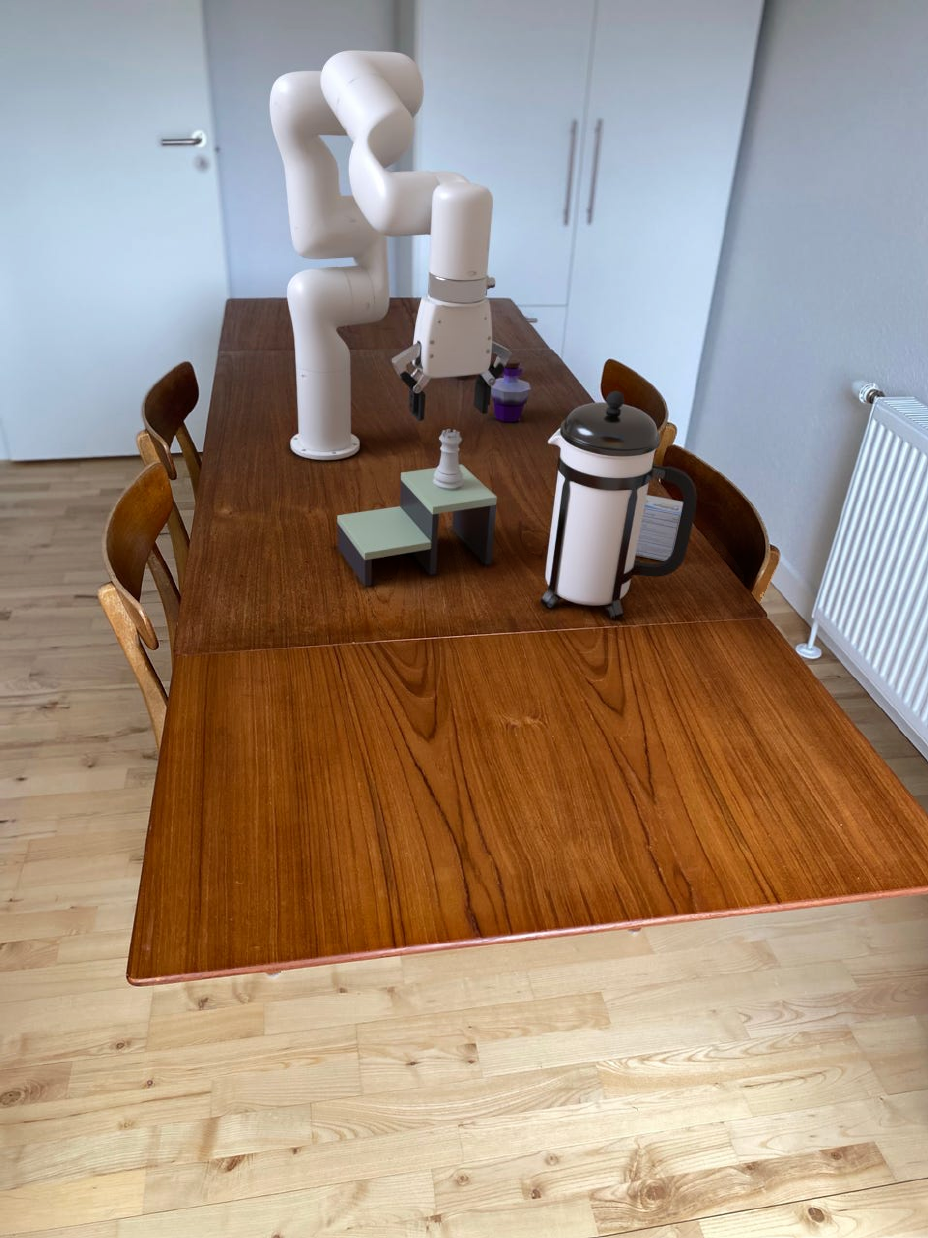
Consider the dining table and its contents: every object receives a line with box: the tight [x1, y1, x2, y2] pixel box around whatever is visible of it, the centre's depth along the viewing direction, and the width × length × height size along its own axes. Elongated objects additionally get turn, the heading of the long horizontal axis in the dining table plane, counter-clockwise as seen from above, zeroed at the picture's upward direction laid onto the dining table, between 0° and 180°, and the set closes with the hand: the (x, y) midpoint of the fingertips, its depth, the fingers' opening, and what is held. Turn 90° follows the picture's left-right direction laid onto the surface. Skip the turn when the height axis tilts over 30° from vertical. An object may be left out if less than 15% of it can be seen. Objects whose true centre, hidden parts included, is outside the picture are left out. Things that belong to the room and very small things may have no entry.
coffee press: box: [540, 390, 697, 621], centre depth 124 cm, size 17×16×30 cm
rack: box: [336, 464, 498, 588], centre depth 136 cm, size 12×20×11 cm, turn 115°
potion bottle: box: [491, 357, 532, 424], centre depth 186 cm, size 9×9×12 cm
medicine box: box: [635, 494, 683, 562], centre depth 142 cm, size 8×4×9 cm, turn 71°
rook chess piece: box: [433, 428, 463, 490], centre depth 132 cm, size 4×4×8 cm
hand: (449, 413), depth 129 cm, fingers open, 9 cm apart
